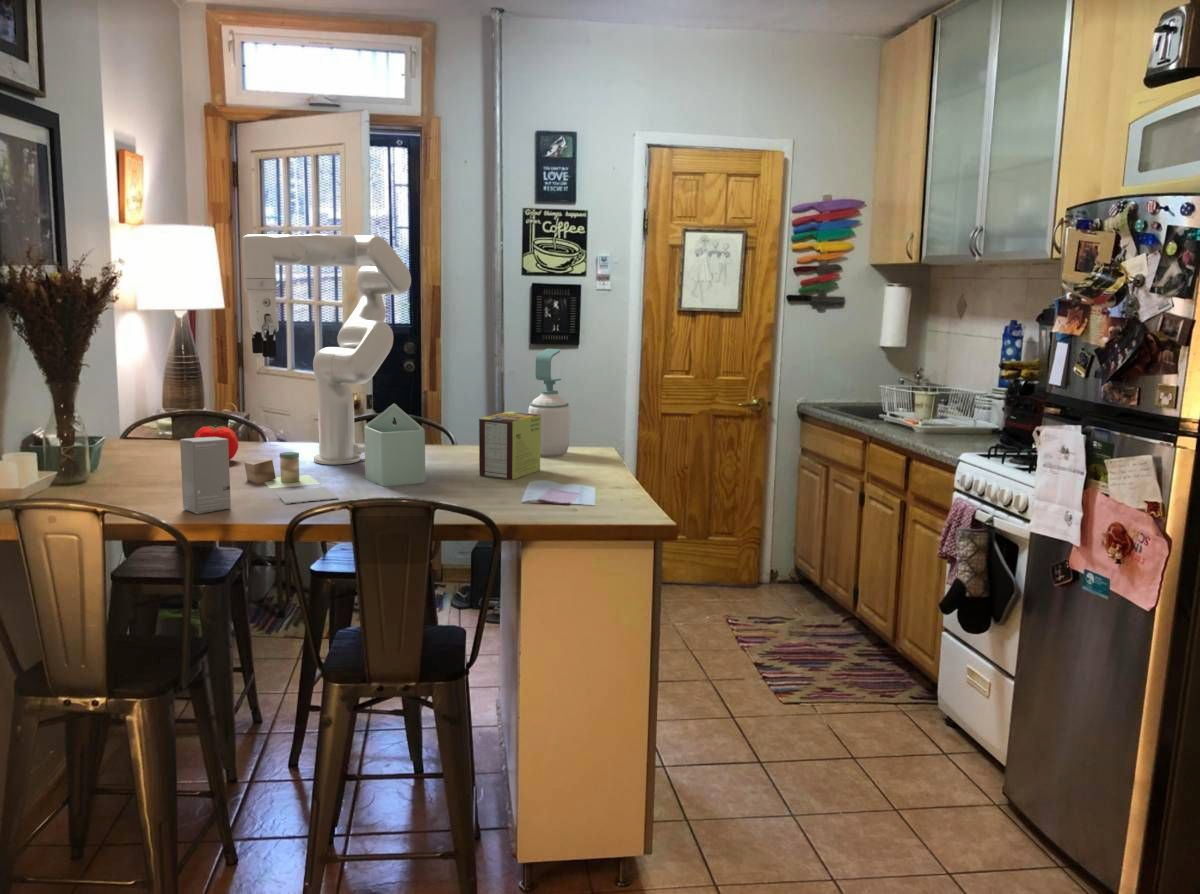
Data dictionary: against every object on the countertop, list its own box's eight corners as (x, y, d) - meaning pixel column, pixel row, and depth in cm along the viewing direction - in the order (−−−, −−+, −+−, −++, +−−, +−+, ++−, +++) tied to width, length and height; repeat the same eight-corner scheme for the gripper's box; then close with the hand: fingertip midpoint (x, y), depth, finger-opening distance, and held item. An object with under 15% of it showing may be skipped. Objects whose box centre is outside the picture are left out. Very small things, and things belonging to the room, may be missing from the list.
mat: (308, 476, 243) (308, 474, 243) (320, 485, 233) (320, 483, 233) (260, 480, 237) (260, 478, 237) (270, 490, 227) (270, 488, 227)
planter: (351, 484, 235) (349, 405, 232) (366, 477, 243) (364, 401, 239) (413, 488, 232) (412, 409, 228) (425, 482, 240) (425, 405, 236)
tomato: (183, 463, 254) (181, 426, 253) (215, 456, 265) (213, 420, 263) (217, 468, 250) (215, 429, 248) (248, 460, 261) (247, 424, 259)
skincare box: (196, 515, 202) (192, 442, 199) (181, 509, 207) (176, 438, 204) (233, 508, 208) (230, 438, 206) (218, 503, 213) (214, 433, 210)
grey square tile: (325, 488, 229) (324, 487, 229) (338, 499, 219) (338, 497, 219) (273, 493, 223) (273, 491, 223) (285, 504, 213) (285, 502, 213)
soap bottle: (577, 453, 283) (579, 349, 277) (553, 460, 272) (555, 351, 267) (543, 449, 289) (545, 347, 283) (519, 454, 279) (520, 349, 273)
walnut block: (266, 476, 238) (263, 457, 237) (275, 479, 235) (272, 459, 234) (247, 481, 235) (244, 462, 234) (256, 484, 232) (253, 464, 230)
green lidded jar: (297, 478, 238) (296, 451, 237) (301, 482, 234) (301, 454, 233) (278, 480, 236) (277, 452, 234) (282, 483, 232) (281, 455, 230)
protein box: (540, 470, 258) (541, 414, 255) (512, 480, 244) (512, 421, 241) (507, 466, 262) (508, 410, 259) (477, 476, 248) (478, 417, 246)
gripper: (285, 286, 228) (289, 357, 232) (267, 284, 242) (270, 351, 246) (253, 286, 224) (257, 358, 228) (236, 284, 238) (240, 352, 242)
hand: (264, 354), depth 237 cm, fingers open, 9 cm apart
